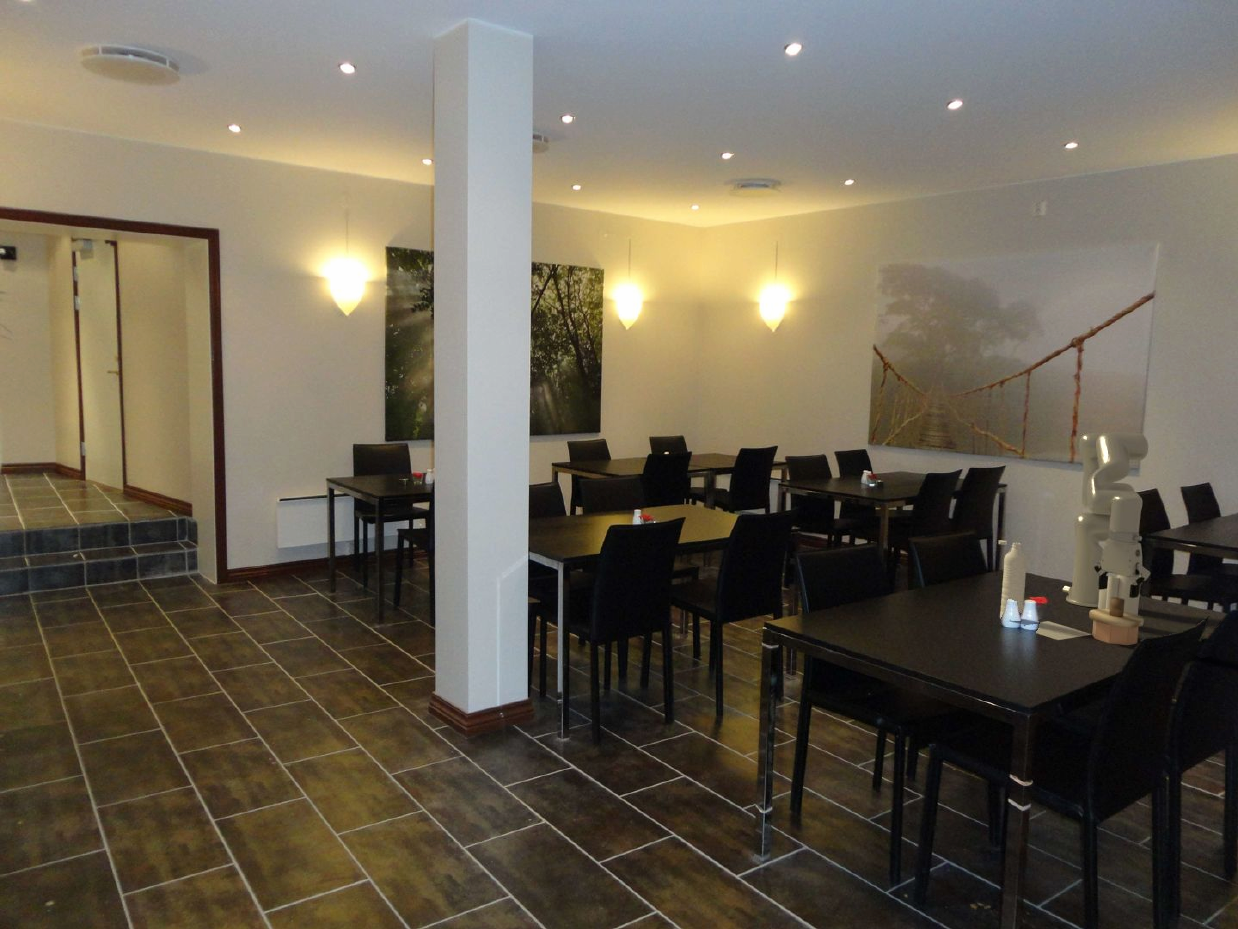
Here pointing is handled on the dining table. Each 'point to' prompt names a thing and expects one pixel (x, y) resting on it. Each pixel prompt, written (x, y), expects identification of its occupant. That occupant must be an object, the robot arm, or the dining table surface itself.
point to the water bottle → (1013, 576)
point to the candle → (1118, 594)
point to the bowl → (1115, 634)
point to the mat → (1058, 631)
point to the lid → (1116, 615)
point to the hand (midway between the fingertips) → (1117, 593)
